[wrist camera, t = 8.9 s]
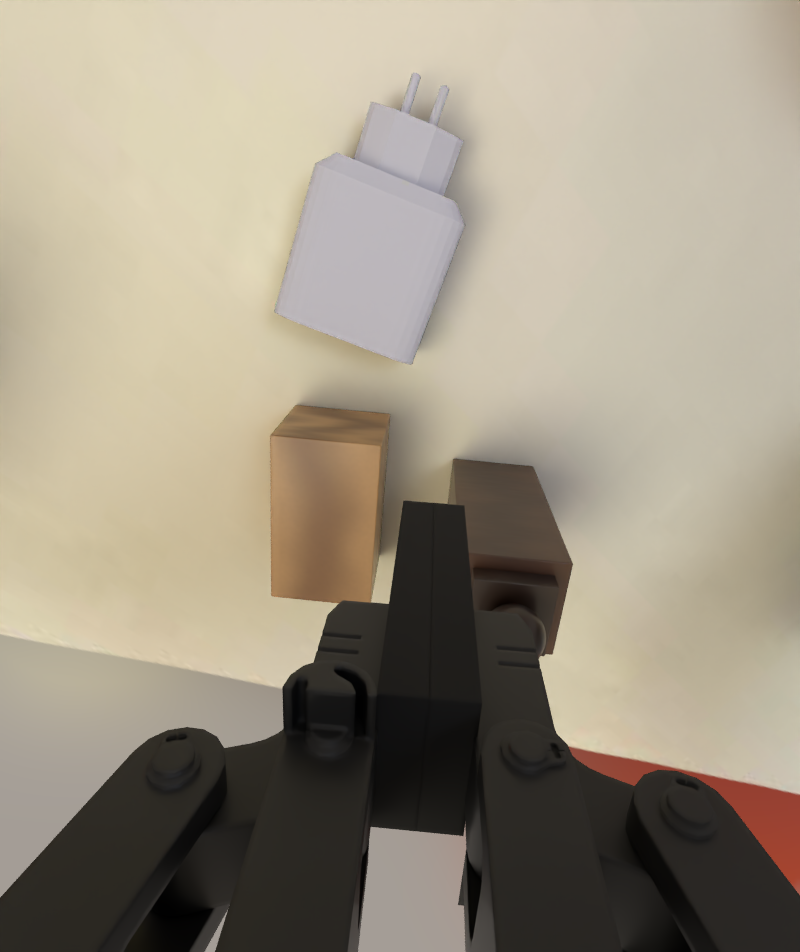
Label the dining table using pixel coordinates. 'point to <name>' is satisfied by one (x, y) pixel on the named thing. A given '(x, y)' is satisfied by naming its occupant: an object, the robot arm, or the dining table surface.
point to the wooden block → (327, 503)
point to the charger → (377, 234)
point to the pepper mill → (513, 545)
